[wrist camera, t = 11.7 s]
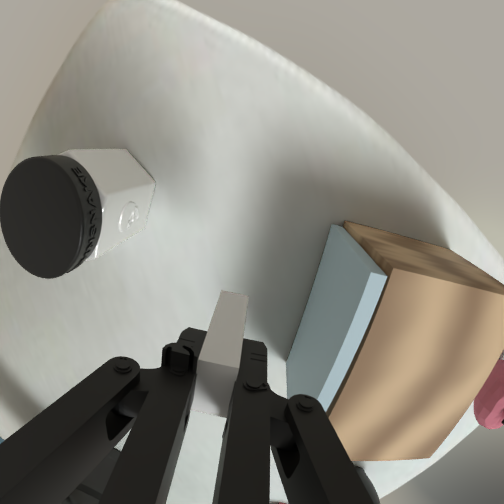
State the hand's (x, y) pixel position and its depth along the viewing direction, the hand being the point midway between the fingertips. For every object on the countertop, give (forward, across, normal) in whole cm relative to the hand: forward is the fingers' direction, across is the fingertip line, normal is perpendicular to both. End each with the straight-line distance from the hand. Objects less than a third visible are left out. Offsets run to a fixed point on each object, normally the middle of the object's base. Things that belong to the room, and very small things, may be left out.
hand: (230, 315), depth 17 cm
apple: (+12, +35, -9) cm, 38 cm away
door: (+12, +7, -3) cm, 14 cm away
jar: (+12, -13, +3) cm, 18 cm away
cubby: (+12, +14, -3) cm, 19 cm away
